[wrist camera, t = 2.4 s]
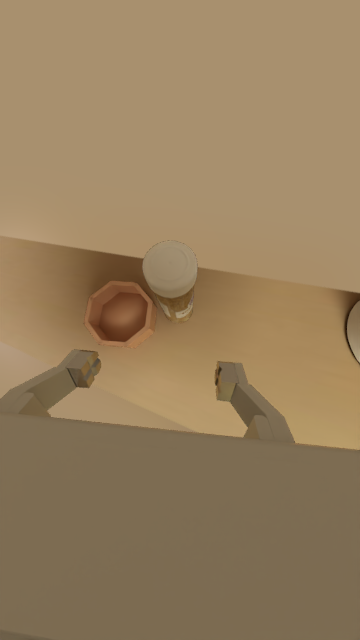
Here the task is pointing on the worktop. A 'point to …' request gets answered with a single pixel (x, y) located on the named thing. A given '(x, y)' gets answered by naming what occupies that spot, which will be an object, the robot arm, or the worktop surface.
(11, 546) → the robot arm
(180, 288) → the sprinkles bottle
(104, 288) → the bowl
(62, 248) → the worktop surface
